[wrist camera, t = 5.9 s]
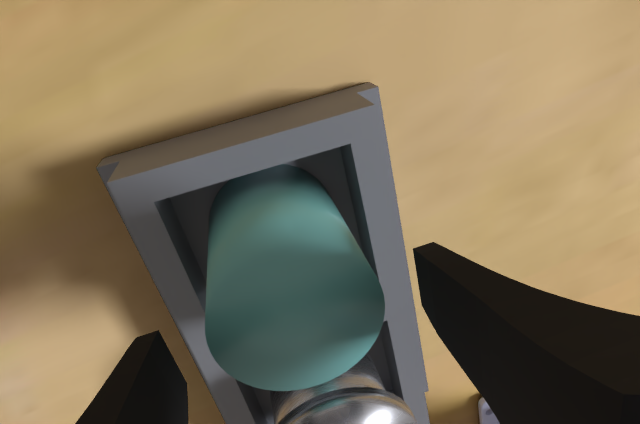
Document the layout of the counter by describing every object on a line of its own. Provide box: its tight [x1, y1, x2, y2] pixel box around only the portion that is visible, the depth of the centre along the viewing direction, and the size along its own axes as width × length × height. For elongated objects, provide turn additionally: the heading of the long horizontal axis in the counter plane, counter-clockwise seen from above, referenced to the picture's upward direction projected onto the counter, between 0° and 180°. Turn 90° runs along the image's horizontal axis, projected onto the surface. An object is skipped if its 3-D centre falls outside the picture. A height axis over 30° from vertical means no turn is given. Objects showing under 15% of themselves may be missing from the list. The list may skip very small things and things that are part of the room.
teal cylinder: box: [205, 164, 385, 391], centre depth 14 cm, size 5×5×6 cm
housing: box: [96, 82, 430, 424], centre depth 17 cm, size 16×10×6 cm, turn 13°
